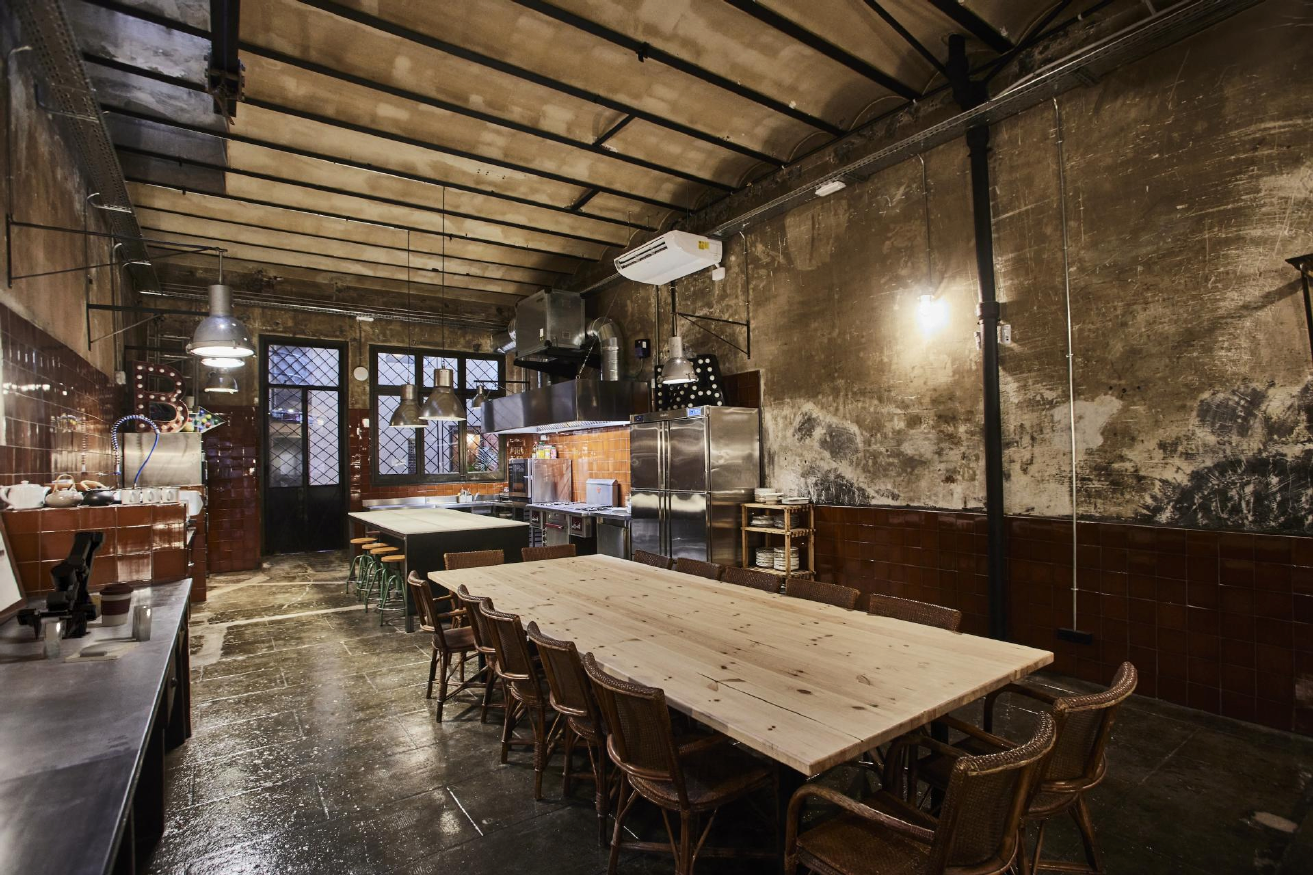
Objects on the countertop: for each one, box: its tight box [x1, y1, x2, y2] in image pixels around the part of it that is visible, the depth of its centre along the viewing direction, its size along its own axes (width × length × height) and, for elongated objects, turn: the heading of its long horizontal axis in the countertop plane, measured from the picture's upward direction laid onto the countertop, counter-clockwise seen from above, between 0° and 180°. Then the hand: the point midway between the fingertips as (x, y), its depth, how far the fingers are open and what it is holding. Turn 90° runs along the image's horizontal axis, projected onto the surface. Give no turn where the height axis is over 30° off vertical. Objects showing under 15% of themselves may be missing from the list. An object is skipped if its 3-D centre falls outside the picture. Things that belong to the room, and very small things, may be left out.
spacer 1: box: [42, 620, 64, 660], centre depth 196 cm, size 4×4×11 cm
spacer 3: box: [135, 606, 153, 643], centre depth 217 cm, size 4×4×11 cm
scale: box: [64, 641, 141, 663], centre depth 201 cm, size 16×13×2 cm
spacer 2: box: [131, 604, 149, 640], centre depth 220 cm, size 4×4×11 cm
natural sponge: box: [89, 594, 102, 619], centre depth 241 cm, size 9×9×10 cm
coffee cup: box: [98, 583, 135, 627], centre depth 237 cm, size 10×10×15 cm
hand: (51, 637), depth 194 cm, fingers open, 7 cm apart
